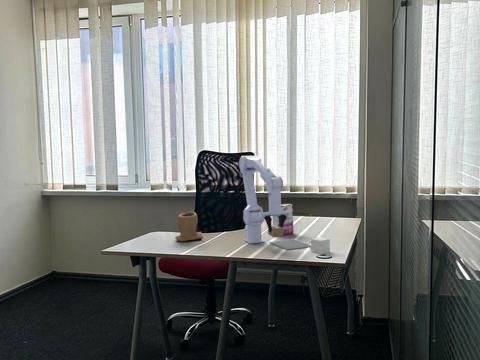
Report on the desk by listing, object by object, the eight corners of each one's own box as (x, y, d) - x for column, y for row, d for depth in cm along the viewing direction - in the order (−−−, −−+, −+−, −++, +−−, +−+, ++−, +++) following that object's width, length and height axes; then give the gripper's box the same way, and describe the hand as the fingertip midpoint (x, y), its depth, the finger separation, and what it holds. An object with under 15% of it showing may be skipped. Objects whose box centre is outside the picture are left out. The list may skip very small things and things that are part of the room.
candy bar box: (287, 232, 256) (287, 203, 255) (293, 233, 252) (293, 204, 251) (272, 235, 249) (271, 205, 248) (278, 236, 245) (277, 206, 244)
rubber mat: (269, 243, 228) (269, 242, 228) (293, 240, 234) (293, 239, 234) (286, 250, 212) (286, 249, 212) (312, 247, 217) (312, 245, 217)
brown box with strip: (268, 234, 218) (268, 225, 218) (277, 233, 219) (277, 224, 219) (273, 237, 209) (273, 228, 209) (283, 236, 210) (282, 227, 210)
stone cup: (181, 244, 232) (180, 214, 231) (173, 240, 242) (172, 212, 241) (208, 240, 239) (207, 212, 238) (199, 237, 249) (198, 209, 248)
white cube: (311, 251, 208) (310, 238, 208) (320, 249, 212) (319, 237, 211) (321, 254, 203) (320, 240, 203) (330, 251, 207) (329, 238, 206)
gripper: (262, 204, 208) (262, 233, 209) (292, 202, 211) (292, 231, 212) (258, 202, 215) (258, 231, 216) (287, 201, 218) (287, 229, 219)
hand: (275, 231), depth 214 cm, fingers closed on brown box with strip, 4 cm apart
